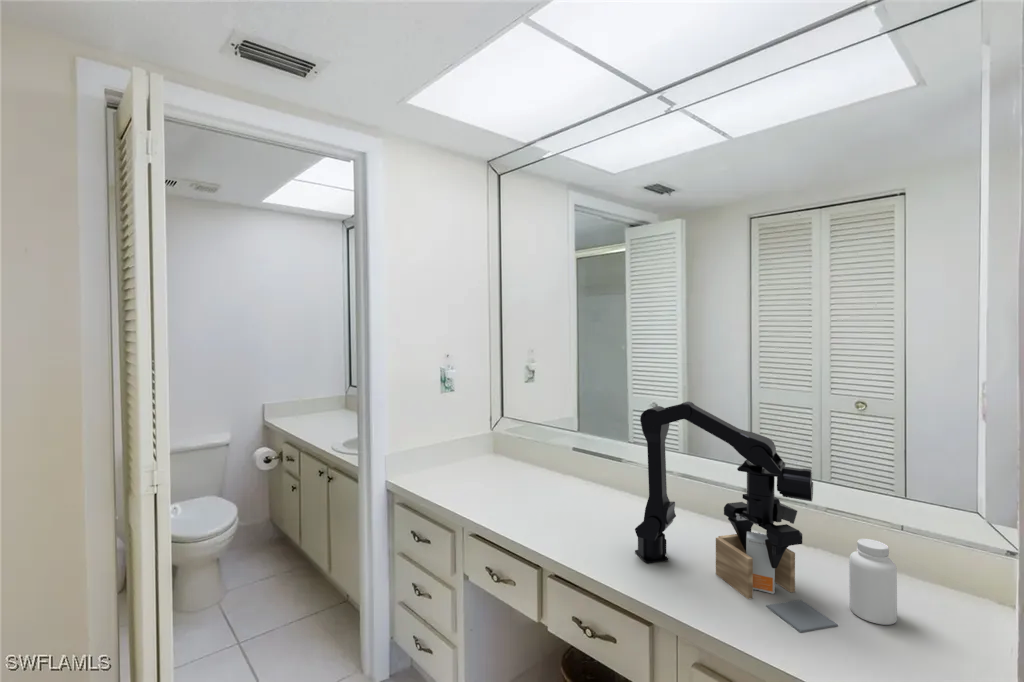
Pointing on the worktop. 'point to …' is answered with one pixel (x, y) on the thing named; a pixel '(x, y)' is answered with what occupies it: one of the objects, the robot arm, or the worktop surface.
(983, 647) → the worktop surface
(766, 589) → the skincare box
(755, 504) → the robot arm
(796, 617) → the slate pad
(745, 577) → the oak bay
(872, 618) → the pill bottle
